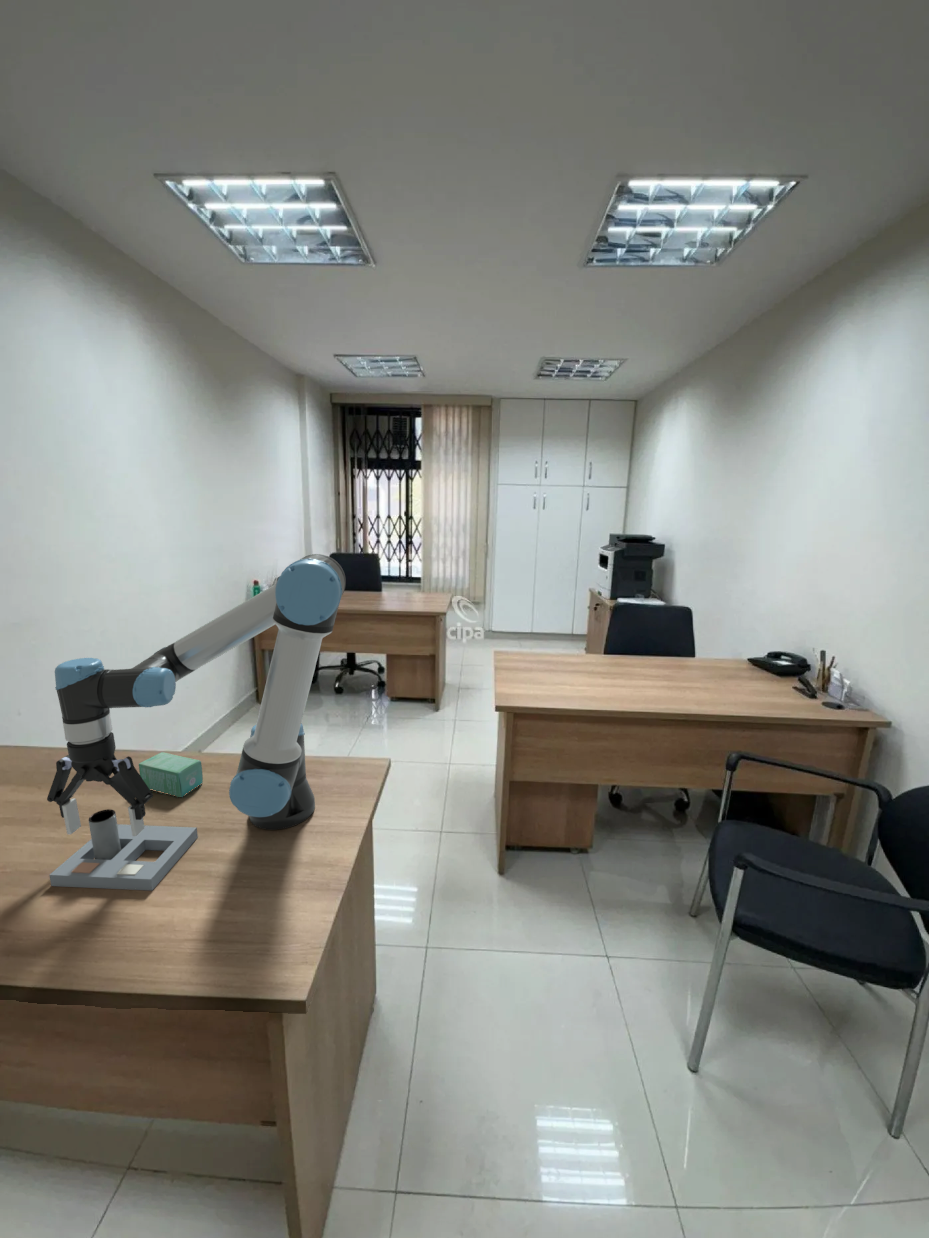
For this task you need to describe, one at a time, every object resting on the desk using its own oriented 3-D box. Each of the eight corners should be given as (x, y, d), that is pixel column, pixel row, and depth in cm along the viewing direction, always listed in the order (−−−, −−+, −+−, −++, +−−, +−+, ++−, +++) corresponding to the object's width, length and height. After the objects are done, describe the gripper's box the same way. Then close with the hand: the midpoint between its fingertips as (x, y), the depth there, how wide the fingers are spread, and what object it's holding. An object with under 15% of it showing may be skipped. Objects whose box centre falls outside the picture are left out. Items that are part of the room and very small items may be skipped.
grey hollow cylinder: (103, 852, 107) (97, 809, 105) (126, 851, 108) (120, 808, 106) (90, 867, 103) (83, 822, 101) (113, 866, 103) (107, 821, 101)
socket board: (197, 837, 113) (196, 826, 112) (152, 890, 97) (150, 878, 97) (110, 833, 113) (108, 823, 113) (51, 886, 98) (49, 873, 97)
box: (182, 799, 127) (179, 772, 126) (140, 790, 131) (137, 763, 129) (204, 784, 134) (202, 758, 133) (164, 776, 138) (161, 751, 136)
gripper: (163, 729, 103) (176, 821, 107) (44, 726, 103) (62, 818, 108) (139, 746, 95) (153, 844, 100) (11, 743, 96) (31, 841, 101)
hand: (106, 831), depth 104 cm, fingers open, 13 cm apart
